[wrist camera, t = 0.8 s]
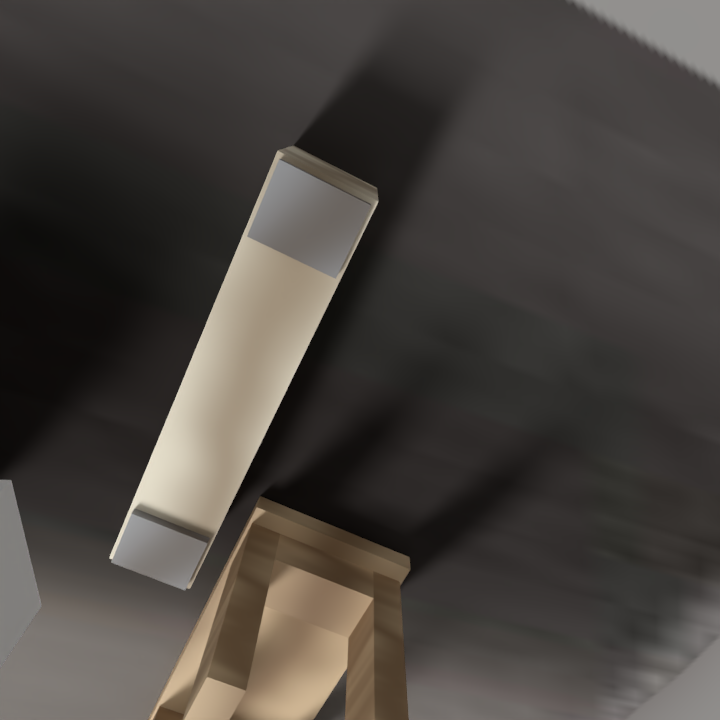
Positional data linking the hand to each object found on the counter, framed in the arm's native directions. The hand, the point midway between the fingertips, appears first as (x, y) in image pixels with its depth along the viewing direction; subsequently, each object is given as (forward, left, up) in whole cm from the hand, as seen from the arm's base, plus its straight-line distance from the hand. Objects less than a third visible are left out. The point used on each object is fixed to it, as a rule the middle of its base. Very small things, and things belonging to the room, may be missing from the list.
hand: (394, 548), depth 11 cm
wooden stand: (+4, -23, -19) cm, 30 cm away
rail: (-4, -6, -19) cm, 20 cm away
